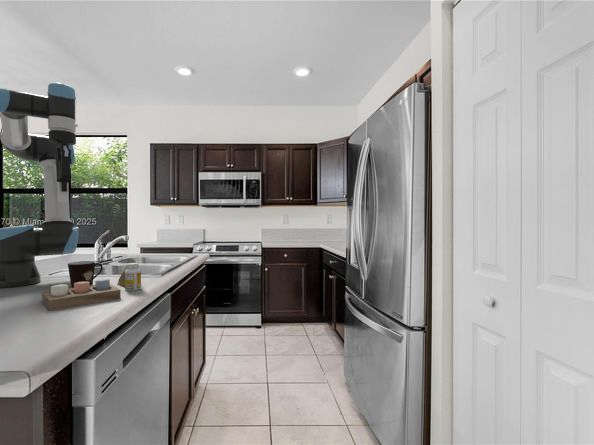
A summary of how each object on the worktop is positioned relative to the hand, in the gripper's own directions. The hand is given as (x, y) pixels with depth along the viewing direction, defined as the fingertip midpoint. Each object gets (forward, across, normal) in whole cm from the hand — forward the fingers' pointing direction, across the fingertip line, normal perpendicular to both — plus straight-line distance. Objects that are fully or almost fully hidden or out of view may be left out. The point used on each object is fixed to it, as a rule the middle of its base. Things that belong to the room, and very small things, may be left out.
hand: (63, 201), depth 110 cm
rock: (+33, +2, -21) cm, 39 cm away
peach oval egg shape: (+32, -10, -3) cm, 33 cm away
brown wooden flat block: (+32, -10, -3) cm, 34 cm away
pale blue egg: (+32, -10, -9) cm, 34 cm away
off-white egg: (+32, -10, +3) cm, 33 cm away
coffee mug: (+33, +7, -8) cm, 34 cm away
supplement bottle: (+33, -6, -20) cm, 39 cm away
